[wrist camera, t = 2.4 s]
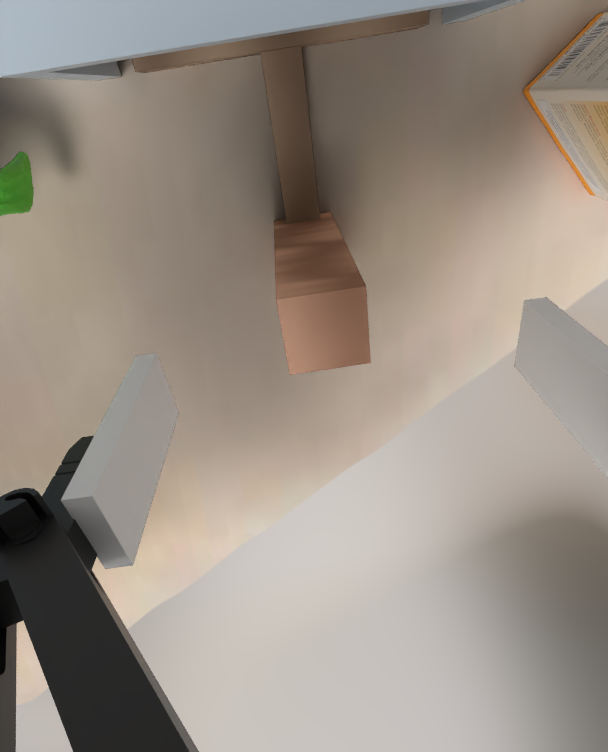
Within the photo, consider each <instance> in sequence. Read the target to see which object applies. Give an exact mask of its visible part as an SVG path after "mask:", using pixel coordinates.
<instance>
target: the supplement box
mask: <svg viewBox="0 0 608 752" xmlns="http://www.w3.org/2000/svg"><path fill="white" fill-rule="evenodd" d="M523 92H524V94H525V96H526V98H527V99H528V101H529V103H530V104H531V106H532V107H533V109H534V111H535V112H536V113H537V115H538V116H539V118H540V119H541V121H542V123H543V124H544V125H545V127H546V129H547V130H548V132H549V134H550V135H551V137H552V138H553V139H554V142H555V143H556V144H557V146H558V147H559V149H560V151H561V152H562V153H563V155H564V156H565V158H566V159H567V161H568V162H569V163H570V165H571V167H572V168H573V170H574V171H575V172H576V174H577V176H578V177H579V179H580V180H581V182H582V183H583V185H584V187H585V188H586V189H587V191H588V192H589V194H590V195H594V196H597V197H599V198H602V199H605V200H608V12H605V13H601V14H598V15H597V16H596V17H595V18H594V19H593V20H592V21H590V22H589V24H588V25H587V26H586V27H585V28H584V29H583V30H582V31H581V32H580V33H579V34H578V35H577V36H576V37H575V38H574V39H573V40H572V41H571V42H570V43H569V44H568V45H567V47H566V48H565V49H563V50H562V51H561V52H560V53H559V54H558V56H557V57H556V58H555V59H554V60H553V61H551V62H550V64H549V65H548V66H547V67H546V68H545V69H543V70H542V72H541V73H540V74H539V75H538V76H537V77H536V78H535V79H534V80H533V81H532V82H531V83H530V84H529V85H528V86H527V87H525V88H524V90H523Z"/></svg>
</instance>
